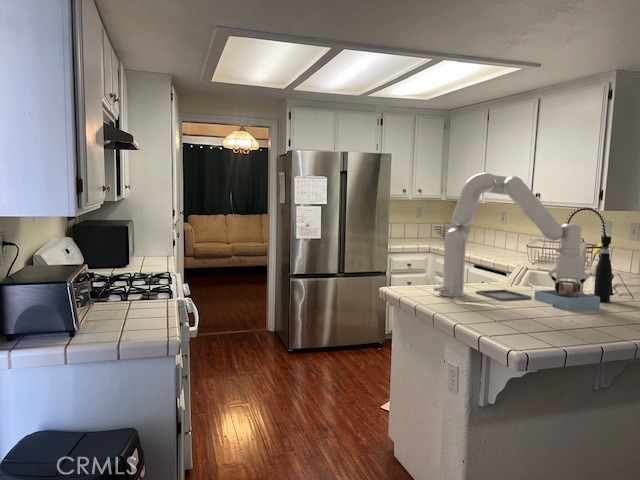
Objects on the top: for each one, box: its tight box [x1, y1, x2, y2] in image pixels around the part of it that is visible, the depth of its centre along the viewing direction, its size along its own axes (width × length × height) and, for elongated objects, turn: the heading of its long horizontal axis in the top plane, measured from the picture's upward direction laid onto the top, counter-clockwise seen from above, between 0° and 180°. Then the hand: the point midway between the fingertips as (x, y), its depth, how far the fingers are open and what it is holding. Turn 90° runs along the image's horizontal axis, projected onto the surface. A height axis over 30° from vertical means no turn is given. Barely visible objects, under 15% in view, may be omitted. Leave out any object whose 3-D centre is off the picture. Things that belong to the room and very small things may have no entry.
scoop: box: [558, 279, 579, 297], centre depth 211 cm, size 7×12×5 cm, turn 159°
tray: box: [475, 289, 532, 302], centre depth 223 cm, size 17×17×2 cm
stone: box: [561, 282, 573, 292], centre depth 212 cm, size 4×4×4 cm
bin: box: [534, 289, 601, 312], centre depth 212 cm, size 18×18×5 cm
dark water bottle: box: [593, 235, 613, 303], centre depth 222 cm, size 6×6×30 cm
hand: (567, 292), depth 211 cm, fingers closed on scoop, 7 cm apart
